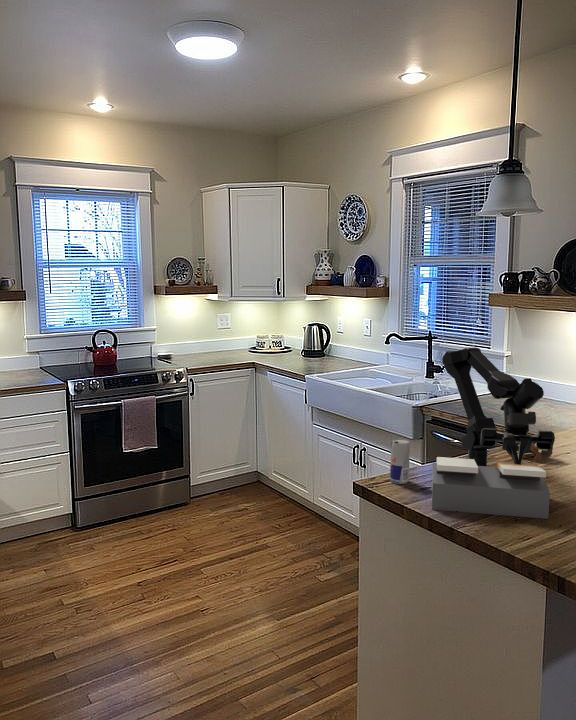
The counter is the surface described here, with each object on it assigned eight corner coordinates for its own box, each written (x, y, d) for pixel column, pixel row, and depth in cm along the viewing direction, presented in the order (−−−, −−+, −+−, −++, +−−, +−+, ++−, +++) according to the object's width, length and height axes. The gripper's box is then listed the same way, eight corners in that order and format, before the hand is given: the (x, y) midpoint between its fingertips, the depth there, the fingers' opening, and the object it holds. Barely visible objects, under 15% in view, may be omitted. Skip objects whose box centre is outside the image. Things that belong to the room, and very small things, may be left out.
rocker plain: (436, 461, 179) (436, 456, 179) (473, 464, 177) (473, 459, 177) (437, 470, 163) (437, 465, 163) (478, 473, 161) (478, 467, 161)
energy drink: (388, 478, 188) (389, 438, 187) (406, 478, 189) (407, 438, 187) (392, 484, 183) (393, 443, 181) (410, 484, 183) (412, 443, 182)
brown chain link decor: (544, 455, 214) (554, 437, 209) (546, 475, 206) (556, 457, 201) (508, 444, 215) (517, 427, 210) (509, 464, 208) (518, 446, 203)
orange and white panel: (496, 466, 175) (496, 461, 175) (535, 468, 173) (535, 463, 173) (503, 474, 160) (503, 468, 160) (545, 477, 158) (545, 471, 158)
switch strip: (432, 486, 181) (433, 457, 180) (537, 494, 175) (538, 464, 174) (431, 509, 164) (433, 477, 163) (548, 518, 158) (550, 485, 157)
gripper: (482, 399, 175) (484, 448, 166) (555, 401, 171) (561, 452, 162) (479, 421, 184) (481, 469, 174) (548, 424, 180) (554, 473, 170)
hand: (518, 466), depth 170 cm, fingers closed, pressing on orange and white panel
